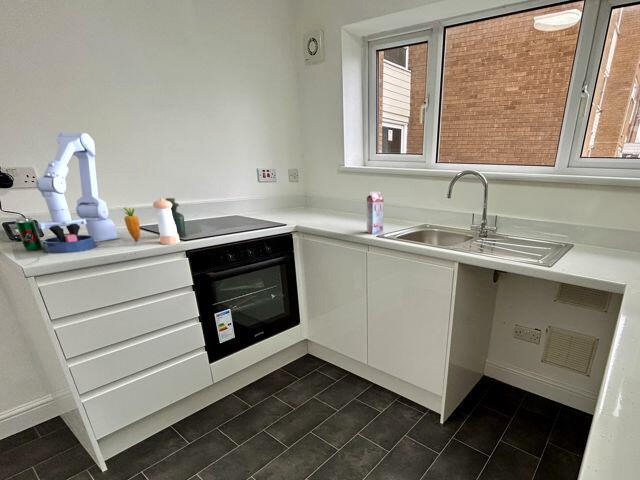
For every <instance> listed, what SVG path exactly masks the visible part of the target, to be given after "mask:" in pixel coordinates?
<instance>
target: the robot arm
mask: <svg viewBox="0 0 640 480" xmlns="http://www.w3.org/2000/svg"><path fill="white" fill-rule="evenodd" d="M56 141H57V144H58V147H57V151H56V154H55V158H54V160H50V161H49V162H48V164H47V166H46V169H45V170H44V173H43V175H42V177H41V176H40V177H39V178H37V180H36V183H35V184H36V185H35V188H36V189H37V190H38V191H39V192H40V194H41V196H42V197H43V198H44V200H45V203H46V206H47V210H48V211H49V215H50V218H51V221H50V220H49V221H45V222H38V223H37V226H38V228H39V229H41V230H44V229H49V230H50V232H51V233H53V234H54V235H55V237H57V238H58V239H59V240H60V242H66V240H65V237H64V234H65V232H64V228H63V227H66V229H67V231H68V234H74V235H76V237H77V236H78V235H79V231H80V228H81V225H85V228H86V232H87V235H89V236H93V238H94V241H95V243H97V242H104V241H109V240H110V241H111V240H115V239H116V240H117V239H119V236H118V233H117V231H116V230H117V229H116V226H115V223H114V222H113V220H112V219H111V218H108V217H109V213H110V212H109V209H108V207H107V202H106V201H105V200H103V199H101V198H100V197H99V190H98V179H97V170H96V169H97V168H96V160H95V159H96V158H95V156H96V148H95V147H96V146H95V141H94V139H92V137H91V136H90V134H88V133H86V132H64V131H60V132H58V133H57V137H56ZM72 156H75V157H76V158H77V159H78V167H79V176H80V185H81V186H80V187H81V188H80V189H81V197H79V198H77V200H76V207H75V212H76V213H75V214H76V215H77V216H78V217H79V218H74V219H73V218H72V216H71V215H72V214H71V212H70V209H69V206H68V201H67V200H66V199H67V198H66V195H65V192H66V191H67V184H66V178H67V175H68V173H69V171H70V169H69V167H68V166H67V165H68V164H69V161H70V160H71V159H72Z"/></svg>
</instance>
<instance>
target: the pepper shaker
mask: <svg viewBox="0 0 640 480" xmlns="http://www.w3.org/2000/svg"><path fill="white" fill-rule="evenodd" d="M152 207H153V208H154V209H155V211H156V215H157V228H158V231H159V236H158V237H159V241H160V244H161V245H173V244H174V245H175V244H180V242H181V240H180V238H179V235H178V234H177V229H176V225H175V222H174V220H173V217H172V212H171V208H172V203H171V202H169V201H166V199H165V200H164V198H163V197H162V198H161V197H160V198H159V199H158V200H154V202H152Z"/></svg>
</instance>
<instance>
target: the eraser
mask: <svg viewBox="0 0 640 480" xmlns="http://www.w3.org/2000/svg"><path fill="white" fill-rule="evenodd" d="M64 237H65V240H66V242H73V241H78V240H77V237H76V235H74V234H69V232H68V233H64Z"/></svg>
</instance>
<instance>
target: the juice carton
mask: <svg viewBox="0 0 640 480" xmlns="http://www.w3.org/2000/svg"><path fill="white" fill-rule="evenodd" d="M366 233H369V234H371V235H375V234H383V233H384V197H383V196H382V193H381V191H369V195H368V196H367V197H366Z"/></svg>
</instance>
